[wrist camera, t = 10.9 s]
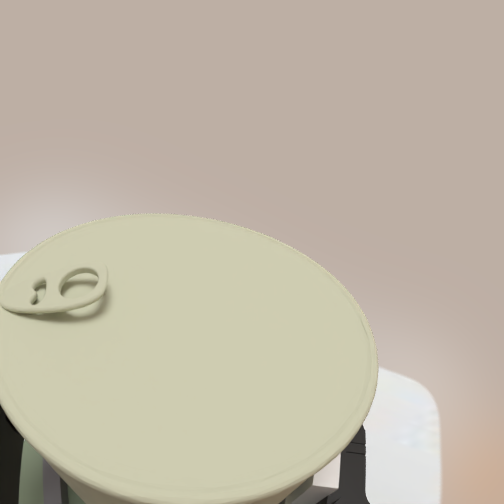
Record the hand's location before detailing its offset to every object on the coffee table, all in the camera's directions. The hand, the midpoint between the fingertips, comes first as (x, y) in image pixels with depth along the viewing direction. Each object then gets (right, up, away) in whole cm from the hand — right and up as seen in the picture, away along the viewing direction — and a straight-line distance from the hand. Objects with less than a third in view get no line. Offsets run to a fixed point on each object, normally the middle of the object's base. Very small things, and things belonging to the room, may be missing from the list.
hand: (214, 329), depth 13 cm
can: (-2, -8, -1) cm, 8 cm away
